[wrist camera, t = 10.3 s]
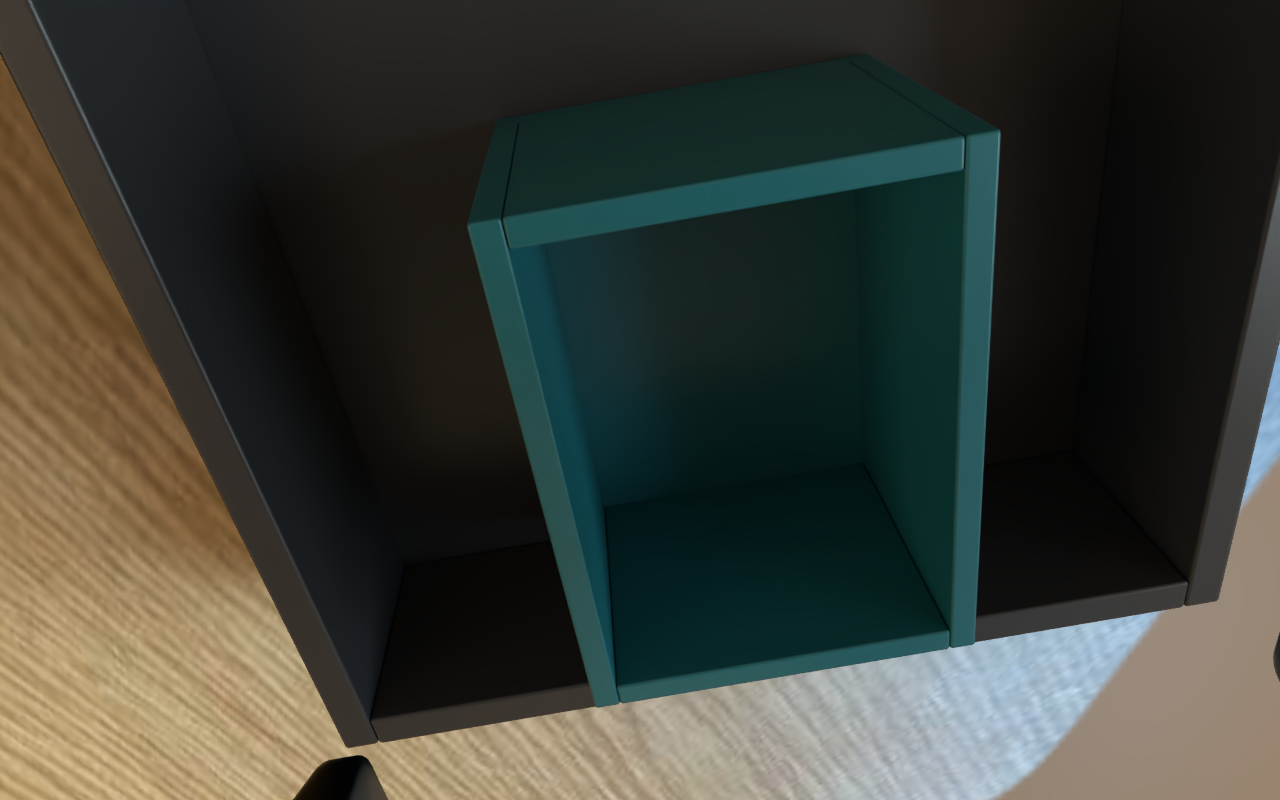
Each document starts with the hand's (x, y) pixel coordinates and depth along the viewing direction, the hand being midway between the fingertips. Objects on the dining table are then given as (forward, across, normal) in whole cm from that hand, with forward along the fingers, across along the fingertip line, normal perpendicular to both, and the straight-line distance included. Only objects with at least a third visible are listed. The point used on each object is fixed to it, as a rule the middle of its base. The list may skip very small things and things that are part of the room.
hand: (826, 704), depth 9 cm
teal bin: (+9, 0, 0) cm, 9 cm away
